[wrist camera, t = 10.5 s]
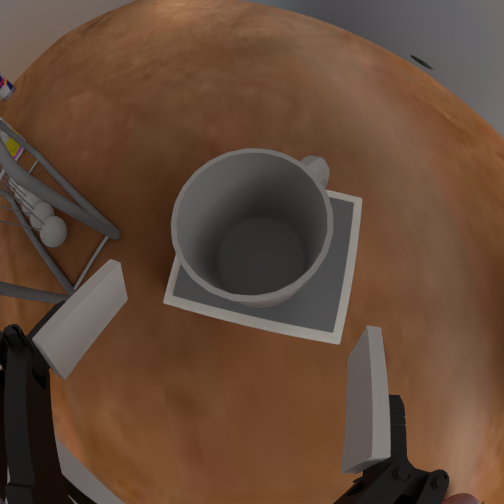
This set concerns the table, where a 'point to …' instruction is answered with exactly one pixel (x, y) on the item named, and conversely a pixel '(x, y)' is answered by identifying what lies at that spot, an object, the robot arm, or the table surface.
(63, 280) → the newton's cradle
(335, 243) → the white rectangular block
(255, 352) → the table surface
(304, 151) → the table surface
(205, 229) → the cup
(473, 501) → the decorative fruit
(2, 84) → the energy drink
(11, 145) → the supplement bottle
